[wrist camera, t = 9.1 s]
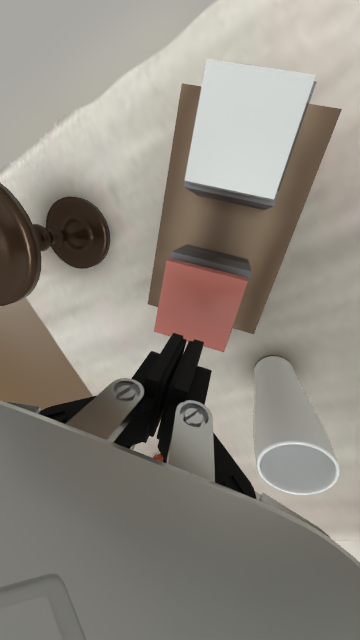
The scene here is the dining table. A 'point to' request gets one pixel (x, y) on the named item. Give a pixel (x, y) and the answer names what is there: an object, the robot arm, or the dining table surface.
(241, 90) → the grey plunger
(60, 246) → the candlestick
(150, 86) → the dining table surface
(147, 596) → the robot arm
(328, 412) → the dining table surface
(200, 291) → the red plunger
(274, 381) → the drinking glass
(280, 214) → the board
